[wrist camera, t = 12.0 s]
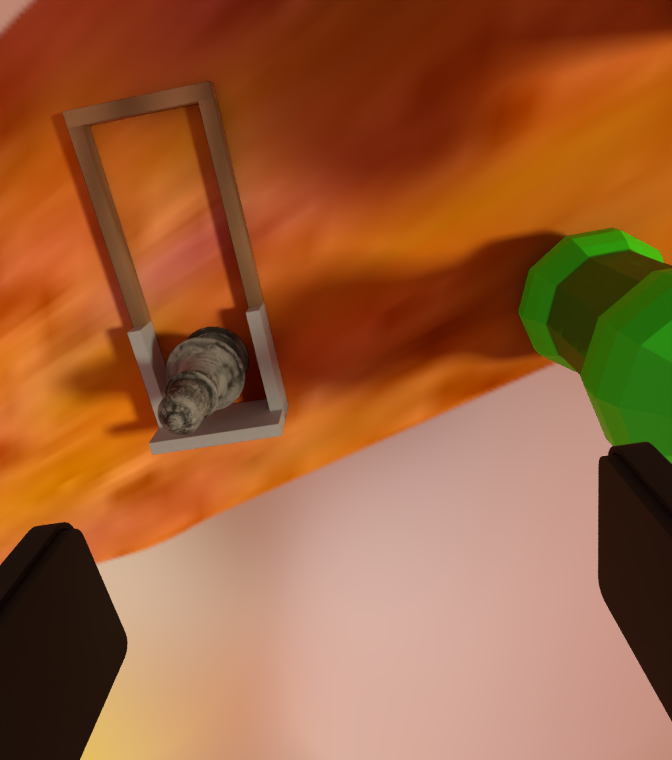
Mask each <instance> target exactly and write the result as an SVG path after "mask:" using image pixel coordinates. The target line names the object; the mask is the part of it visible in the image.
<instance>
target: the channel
mask: <svg viewBox="0 0 672 760" xmlns="http://www.w3.org/2000/svg"><path fill="white" fill-rule="evenodd" d="M194 104H199V107H200V112H201V116H202V120H203V124H204V128H205V132H206V136H207V140H208V144H209V148H210V152H211V156H212V161H213V165H214V169H215V173H216V177H217V181H218V185H219V189H220V193H221V197H222V201H223V205H224V210H225V214H226V218H227V222H228V226H229V230H230V234H231V238H232V242H233V246H234V250H235V254H236V259H237V263H238V267H239V271H240V275H241V279H242V283H243V287H244V291H245V295H246V299H247V303H248V308H251V307H257V306H262V304H263V302H264V300H263V295H262V291H261V287H260V282H259V278H258V274H257V270H256V265H255V261H254V257H253V252H252V248H251V244H250V240H249V235H248V231H247V227H246V222H245V218H244V214H243V210H242V205H241V201H240V197H239V192H238V188H237V184H236V179H235V175H234V171H233V167H232V162H231V158H230V154H229V149H228V145H227V141H226V137H225V132H224V128H223V124H222V119H221V115H220V111H219V107H218V102H217V98H216V94H215V89H214V85H213V83H212V82H210V81H207V82H202V83H198V84H193V85H188V86H183V87H178V88H174V89H169V90H164V91H159V92H154V93H150V94H145V95H140V96H135V97H130V98H126V99H121V100H116V101H111V102H106V103H102V104H97V105H92V106H87V107H82V108H78V109H73V110H68V111H63V112H62V113H63V116H64V119H65V122H66V125H67V128H68V131H69V134H70V137H71V140H72V143H73V146H74V149H75V152H76V155H77V158H78V161H79V164H80V167H81V170H82V173H83V176H84V179H85V182H86V185H87V188H88V191H89V194H90V197H91V200H92V204H93V207H94V210H95V213H96V216H97V219H98V222H99V225H100V228H101V231H102V234H103V237H104V240H105V243H106V246H107V249H108V252H109V255H110V258H111V261H112V264H113V267H114V270H115V273H116V276H117V279H118V282H119V285H120V288H121V291H122V294H123V297H124V300H125V303H126V306H127V309H128V312H129V315H130V318H131V321H132V324H133V327H139V326H145V325H147V324H148V323H149V322H150V321H151V318H150V315H149V312H148V309H147V306H146V302H145V299H144V296H143V293H142V290H141V287H140V284H139V280H138V277H137V274H136V271H135V268H134V265H133V261H132V258H131V255H130V252H129V249H128V246H127V242H126V239H125V236H124V233H123V230H122V227H121V223H120V220H119V217H118V214H117V211H116V208H115V205H114V201H113V198H112V195H111V192H110V189H109V186H108V182H107V179H106V176H105V173H104V170H103V167H102V163H101V160H100V157H99V154H98V151H97V148H96V145H95V141H94V138H93V135H92V132H91V129H90V126H91V125H96V124H101V123H106V122H111V121H116V120H121V119H125V118H130V117H135V116H140V115H145V114H150V113H155V112H160V111H164V110H169V109H174V108H179V107H184V106H189V105H194Z"/></svg>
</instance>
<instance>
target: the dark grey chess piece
mask: <svg viewBox="0 0 672 760" xmlns="http://www.w3.org/2000/svg"><path fill="white" fill-rule="evenodd" d="M248 365H249V356H248V352H247V349H246V346H245V345H244V343H243V342H242V341H241V339H240V338H239V337H238V336H236V335H235V334H234V333H233V332H231V331H229V330H227V329H224V328H219V327H206V328H203V329H200V330H198V331H196V332H195V333H193V334H192V335H191V336H190V337H189V338H188V339H187V340H185V341H183V342H182V343H180V344H178V345H177V346H176V347H175V348H174V350H173V351H172V352H171V353H170V355H169V357H168V360H167V363H166V370H165V371H166V378H167V382H168V384H167V386H166V391H165V396H164V398H163V399H162V400H161V402H160V404H159V406H158V413H157V414H158V419H159V421H160V424H161V425H162V426H163V427H164V429H166V430H167V431H168V432H170V433H172V434H175V435H188V434H190V433H192V432H194V431H195V430H196V429H197V428H198V427H199V426H200V424H201V422H202V420H203V419H205V418H206V417H208V416H210V415H211V414H212V413H213V412H214V411H215V410H219V409H223V408H225V407H227V406H229V405H231V404H232V403H233V402H234V401H235V400H236V399H237V398H238V397H239V396H240V394H241V392H242V390H243V388H244V383H245V374H246V372H247V370H248Z"/></svg>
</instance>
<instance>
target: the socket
mask: <svg viewBox="0 0 672 760" xmlns="http://www.w3.org/2000/svg"><path fill="white" fill-rule="evenodd" d="M246 316H247V320H248V325H249V329H250V333H251V337H252V341H253V345H254V349H255V353H256V357H257V361H258V365H259V369H260V373H261V377H262V381H263V385H264V389H265V393H266V397H267V399H262V400H255V401H249V402H242V403H236V404H231V405H229V406H227V407H225V408H223V409H219V410H215V411H214V412H213V413H212V414H211V415H210V416H208V417H206V418H205V419H203V420H202V422H201V424H200V426H199V427H198V428H197V429H196V430H195V431H194V432H192V433H190V434H188V435H175V434H172V433H170V432H168V431H167V430H166V429H164V427H163V426H162V425H161V424H160V421H159V419H158V414H157V413H158V406H159V404H160V402H161V400H162V399H163V398H164V396H165V391H166V386H167V384H168V382H167V378H166V371H165V370H166V366H165V362H164V359H163V356H162V353H161V350H160V347H159V344H158V340H157V337H156V334H155V331H154V328H153V325H152V321H150V322H149V323H148V324H147V325H145V326H139V327H133V328H132V329H131V330H130V331H129V332H127V334H128V337H129V340H130V343H131V346H132V348H133V351H134V354H135V357H136V360H137V363H138V366H139V369H140V372H141V375H142V378H143V381H144V384H145V387H146V390H147V393H148V396H149V399H150V402H151V405H152V408H153V411H154V414H155V417H156V420H157V423H158V426H159V429H158V430H157V432H156V433H155V435H154V436H153V438H152V439H151V441H150V442H149V446H150V448H151V451H152V454H153V455H155V454H162V453H168V452H175V451H182V450H189V449H195V448H202V447H209V446H216V445H222V444H229V443H236V442H243V441H249V440H256V439H263V438H270V437H277V436H282V432H283V428H284V423H285V419H286V415H287V411H288V403H287V398H286V394H285V390H284V385H283V381H282V377H281V373H280V368H279V364H278V360H277V355H276V351H275V347H274V343H273V338H272V334H271V330H270V325H269V321H268V317H267V313H266V308H265V304H264V302H263V304H262V306H257V307H251V308H248V310H247V311H246Z"/></svg>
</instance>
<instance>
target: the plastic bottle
mask: <svg viewBox="0 0 672 760" xmlns="http://www.w3.org/2000/svg"><path fill="white" fill-rule="evenodd" d="M518 314H519V316H520V319H521V321H522V323H523V325H524V328H525V330H526V332H527V334H528V337H529V339H530V341H531V344H532V346H533V348H534V349H535V351H536V352H537V353H538V354H539V355H542V356H544V357H546V358H548V359H550V360H552V361H554V362H556V363H558V364H560V365H562V366H565V367H567V368H569V369H571V370H573V371H576V372H578V373H579V374H580V376H581V378H582V381H583V383H584V386H585V389H586V391H587V393H588V396H589V398H590V401H591V403H592V405H593V408H594V410H595V413H596V415H597V417H598V420H599V422H600V425H601V427H602V430H603V432H604V434H605V437H606V439H607V440H608V441H609V442H610V443H611V444H612V445H613V446H618V445H625V444H632V443H639V442H649V443H651V444H652V445H653V446H654V447H655V448H656V449H657V450H658V451H659V452H660V453H661V454H662V455H663V456H664V457H665V458H666V459H667V460H668V461H669V462H670V463H671V464H672V266H671V265H668V264H665V263H664V261H663V258H662V256H661V254H660V251H659V250H657V249H655V248H653V247H651V246H649V245H647V244H646V243H644V242H642V241H640V240H638V239H636V238H634V237H632V236H630V235H629V234H627V233H625V232H623V231H621V230H618V229H615V228H608V229H602V230H597V231H591V232H586V233H581V234H575V235H570V236H565V237H564V238H563V239H562V240H560V241H559V242H558V243H557V244H556V245H555V246H554V247H553V248H552V249H551V250H550V251H549V252H547V253H546V254H545V255H544V256H543V257H542V258H541V259H540V260H539V261H538V262H537V263H536V264H534V265H533V266H532V267H531V268H530V269H529V272H528V276H527V280H526V283H525V287H524V291H523V295H522V299H521V303H520V306H519V310H518Z"/></svg>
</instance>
